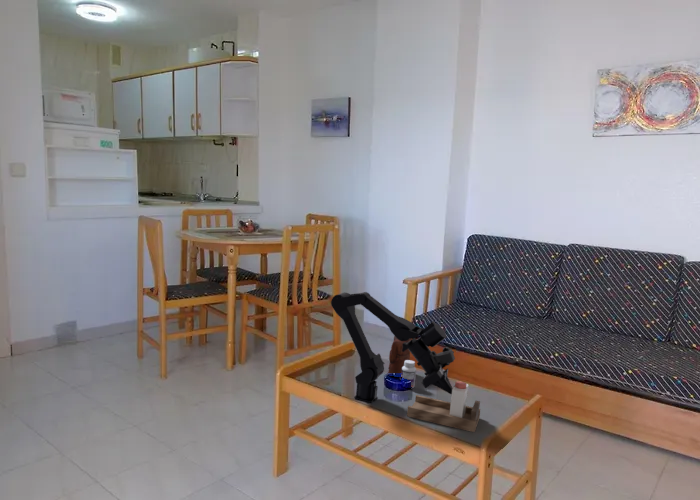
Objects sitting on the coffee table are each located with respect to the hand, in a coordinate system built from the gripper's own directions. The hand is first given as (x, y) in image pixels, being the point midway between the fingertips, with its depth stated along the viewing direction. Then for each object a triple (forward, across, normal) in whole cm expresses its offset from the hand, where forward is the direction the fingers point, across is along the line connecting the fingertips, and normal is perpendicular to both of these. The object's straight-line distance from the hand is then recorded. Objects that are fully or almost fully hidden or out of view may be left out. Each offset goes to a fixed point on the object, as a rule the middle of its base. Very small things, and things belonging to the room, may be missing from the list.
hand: (452, 393), depth 168 cm
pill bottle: (-8, +21, +20) cm, 30 cm away
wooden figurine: (-13, +32, +26) cm, 43 cm away
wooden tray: (+5, 0, +8) cm, 9 cm away
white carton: (+7, 0, +4) cm, 8 cm away
